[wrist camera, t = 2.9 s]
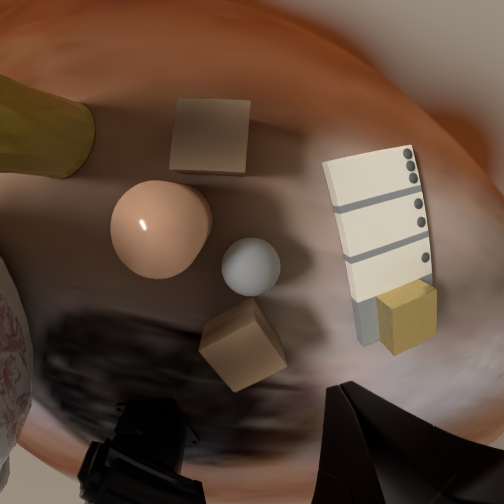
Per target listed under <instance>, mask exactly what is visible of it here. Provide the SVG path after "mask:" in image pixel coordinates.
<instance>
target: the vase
mask: <svg viewBox="0 0 504 504" xmlns="http://www.w3.org/2000/svg"><path fill="white" fill-rule="evenodd" d="M94 133H95V127H94V121H93V117H92V114H91V112H90V111H89V109H88V108H87V107H85V106H84V105H83V104H81V103H79V102H74V101H71V100H69V99H66V98H63V97H60V96H57V95H54V94H51V93H47V92H44V91H41V90H38V89H34V88H31V87H28V86H26V85H24V84H21V83H19V82H17V81H15V80H13V79H11V78H9V77H6V76H4V75H1V74H0V173H19V174H28V175H37V176H46V177H50V178H53V179H61V178H65V177H68V176H70V175H71V174H72V173H74V172H75V171H76V170H77V169H78V168H79V167H80V166H81V165H82V164H83V163H84V161H85V160H86V158H87V156H88V154H89V152H90V150H91V148H92V144H93V140H94Z"/></svg>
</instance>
